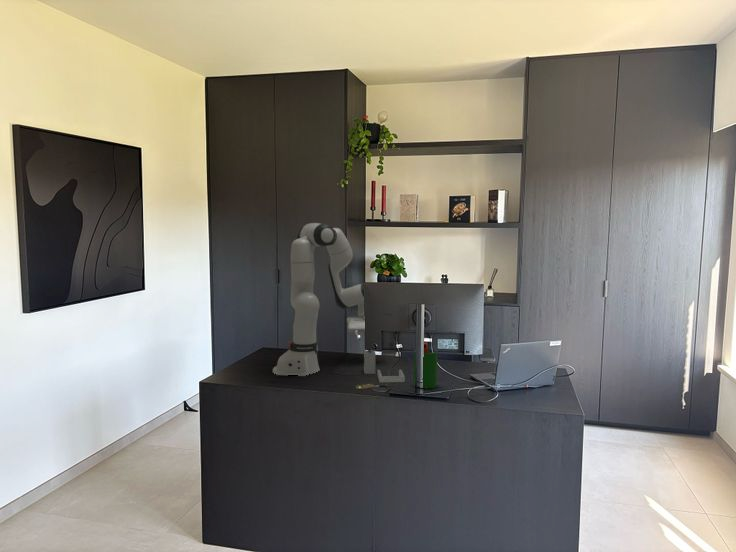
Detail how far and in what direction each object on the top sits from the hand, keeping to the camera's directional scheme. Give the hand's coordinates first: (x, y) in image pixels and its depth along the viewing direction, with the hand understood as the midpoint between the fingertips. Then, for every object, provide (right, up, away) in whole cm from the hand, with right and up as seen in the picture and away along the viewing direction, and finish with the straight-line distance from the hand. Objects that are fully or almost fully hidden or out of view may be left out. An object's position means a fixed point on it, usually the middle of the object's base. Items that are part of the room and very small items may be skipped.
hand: (368, 339), depth 263 cm
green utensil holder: (+25, -17, -29) cm, 42 cm away
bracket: (+10, -16, -18) cm, 26 cm away
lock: (+1, -15, -9) cm, 17 cm away
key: (-2, -17, -31) cm, 36 cm away
